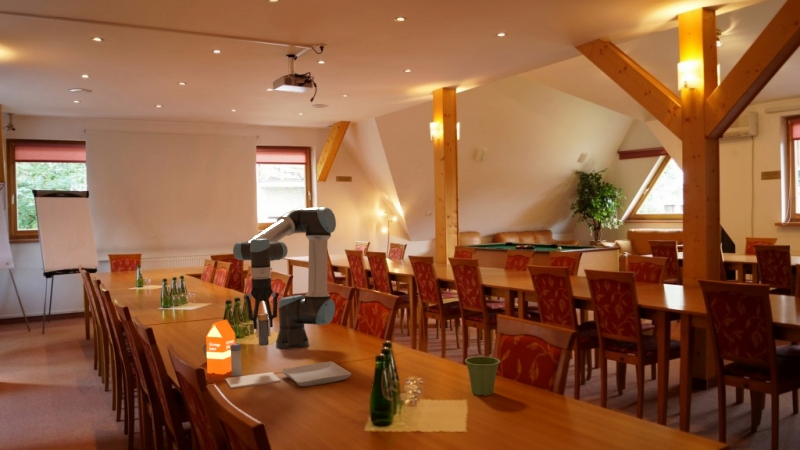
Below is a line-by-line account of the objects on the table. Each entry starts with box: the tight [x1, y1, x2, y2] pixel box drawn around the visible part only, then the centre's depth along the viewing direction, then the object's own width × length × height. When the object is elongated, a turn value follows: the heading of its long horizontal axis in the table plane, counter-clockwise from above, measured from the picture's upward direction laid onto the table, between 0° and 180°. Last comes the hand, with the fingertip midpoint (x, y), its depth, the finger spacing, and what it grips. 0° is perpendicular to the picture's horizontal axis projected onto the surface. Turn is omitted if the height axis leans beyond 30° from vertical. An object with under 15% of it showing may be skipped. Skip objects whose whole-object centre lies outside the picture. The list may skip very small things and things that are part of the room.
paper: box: [224, 371, 281, 390], centre depth 235 cm, size 18×13×1 cm
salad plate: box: [280, 361, 352, 387], centre depth 236 cm, size 21×21×3 cm
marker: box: [257, 313, 270, 347], centre depth 248 cm, size 4×4×12 cm
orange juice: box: [205, 319, 236, 375], centre depth 251 cm, size 8×9×20 cm
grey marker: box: [230, 343, 243, 377], centre depth 243 cm, size 4×4×12 cm
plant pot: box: [464, 355, 501, 397], centre depth 213 cm, size 12×12×11 cm
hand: (263, 336), depth 249 cm, fingers closed on marker, 4 cm apart
